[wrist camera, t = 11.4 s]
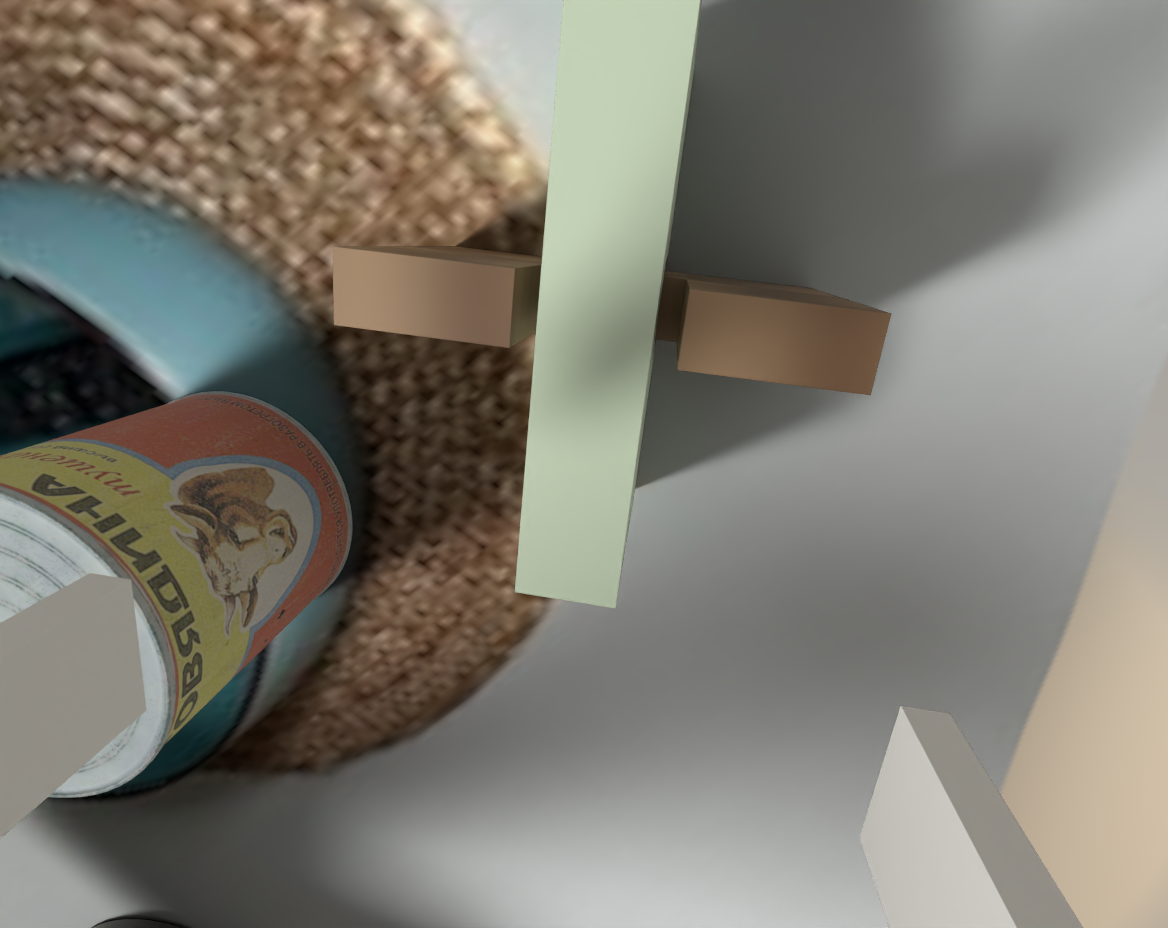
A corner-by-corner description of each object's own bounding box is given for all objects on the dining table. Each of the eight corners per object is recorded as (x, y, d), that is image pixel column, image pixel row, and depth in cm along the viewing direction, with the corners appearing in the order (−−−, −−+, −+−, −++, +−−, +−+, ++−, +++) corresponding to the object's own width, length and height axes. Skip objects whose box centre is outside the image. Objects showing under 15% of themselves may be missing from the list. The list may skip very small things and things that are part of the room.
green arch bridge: (567, 479, 29) (514, 592, 20) (610, 63, 24) (567, -57, 14) (634, 489, 29) (615, 608, 19) (693, 71, 23) (706, -46, 14)
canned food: (391, 579, 32) (234, 763, 20) (202, 633, 34) (-30, 824, 23) (284, 357, 29) (34, 428, 18) (88, 434, 31) (-243, 539, 20)
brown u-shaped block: (452, 297, 27) (333, 324, 18) (454, 246, 26) (333, 246, 17) (799, 340, 26) (870, 395, 16) (810, 288, 25) (891, 313, 16)
